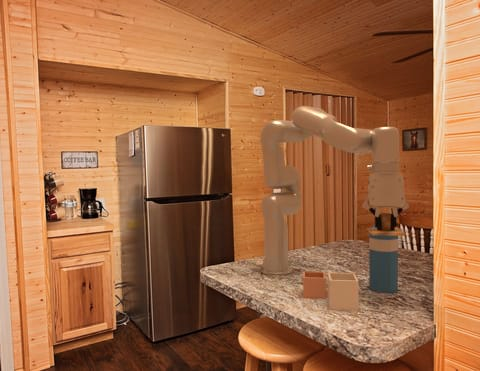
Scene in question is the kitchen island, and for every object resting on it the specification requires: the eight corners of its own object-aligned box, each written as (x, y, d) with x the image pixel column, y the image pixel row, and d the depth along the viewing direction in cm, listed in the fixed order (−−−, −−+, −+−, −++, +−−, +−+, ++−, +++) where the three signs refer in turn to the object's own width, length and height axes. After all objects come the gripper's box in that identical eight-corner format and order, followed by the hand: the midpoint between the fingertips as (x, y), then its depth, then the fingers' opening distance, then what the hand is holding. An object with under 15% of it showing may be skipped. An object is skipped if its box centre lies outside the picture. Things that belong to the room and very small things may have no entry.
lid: (372, 235, 107) (372, 215, 107) (367, 230, 116) (367, 211, 116) (405, 235, 105) (405, 215, 105) (397, 230, 114) (397, 212, 114)
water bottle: (374, 283, 130) (374, 213, 129) (401, 289, 124) (402, 215, 123) (364, 290, 123) (364, 216, 121) (393, 296, 117) (393, 218, 116)
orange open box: (303, 299, 115) (303, 277, 115) (303, 292, 122) (303, 271, 122) (326, 300, 114) (325, 278, 114) (324, 293, 121) (324, 272, 121)
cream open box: (329, 311, 106) (329, 280, 105) (327, 301, 114) (327, 272, 113) (358, 312, 104) (358, 281, 104) (354, 302, 112) (354, 273, 112)
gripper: (358, 169, 108) (359, 231, 108) (418, 168, 105) (418, 232, 106) (355, 169, 115) (355, 227, 116) (410, 168, 112) (410, 228, 113)
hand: (385, 229), depth 111 cm, fingers closed on lid, 3 cm apart
